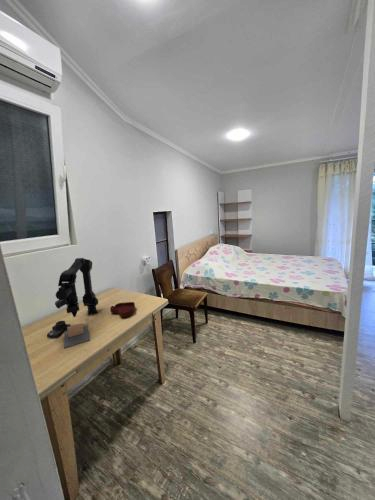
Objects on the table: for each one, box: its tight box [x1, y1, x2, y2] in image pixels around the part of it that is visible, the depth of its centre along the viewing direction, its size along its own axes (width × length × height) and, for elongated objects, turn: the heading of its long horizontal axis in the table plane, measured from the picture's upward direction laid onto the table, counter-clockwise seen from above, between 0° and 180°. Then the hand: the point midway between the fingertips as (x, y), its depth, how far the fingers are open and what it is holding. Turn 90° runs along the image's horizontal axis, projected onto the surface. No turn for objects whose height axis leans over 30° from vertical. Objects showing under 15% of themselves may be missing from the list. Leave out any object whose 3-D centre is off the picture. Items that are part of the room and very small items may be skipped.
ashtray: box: [109, 301, 136, 319], centre depth 150 cm, size 18×16×5 cm
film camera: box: [46, 320, 72, 339], centre depth 127 cm, size 13×8×10 cm
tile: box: [67, 322, 84, 337], centre depth 123 cm, size 2×8×6 cm, turn 120°
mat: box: [63, 325, 91, 349], centre depth 122 cm, size 18×13×1 cm
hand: (74, 316), depth 125 cm, fingers closed
